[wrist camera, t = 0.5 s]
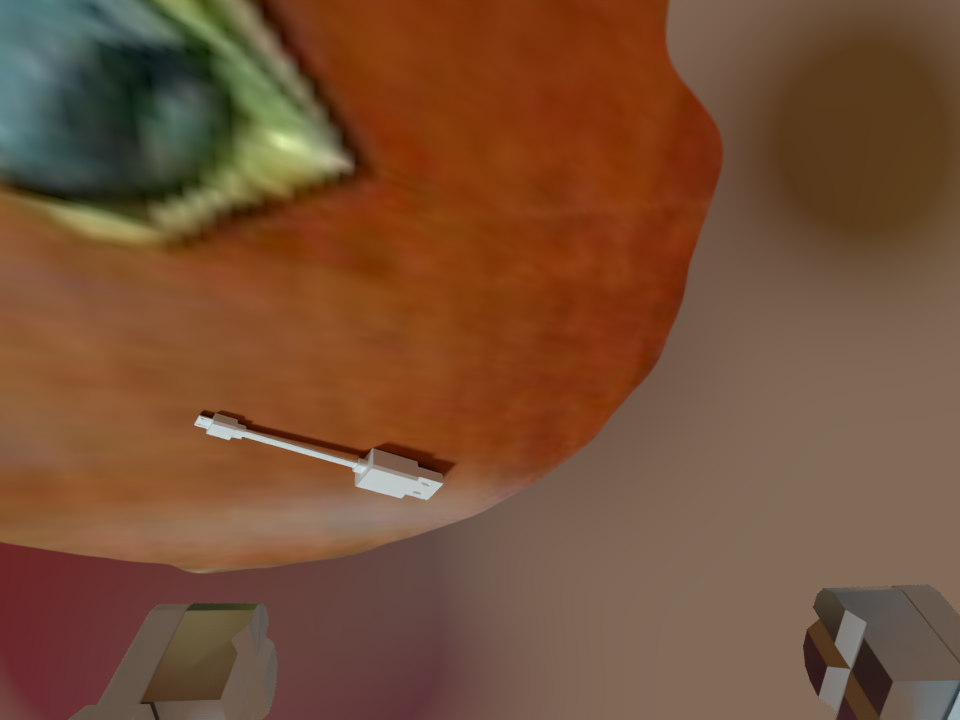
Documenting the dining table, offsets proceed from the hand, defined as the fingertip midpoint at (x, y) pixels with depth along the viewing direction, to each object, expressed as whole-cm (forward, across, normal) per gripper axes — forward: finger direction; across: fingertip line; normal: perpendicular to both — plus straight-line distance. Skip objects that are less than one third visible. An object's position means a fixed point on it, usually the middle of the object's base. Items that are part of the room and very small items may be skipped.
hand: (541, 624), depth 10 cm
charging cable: (+65, +20, +40) cm, 79 cm away
